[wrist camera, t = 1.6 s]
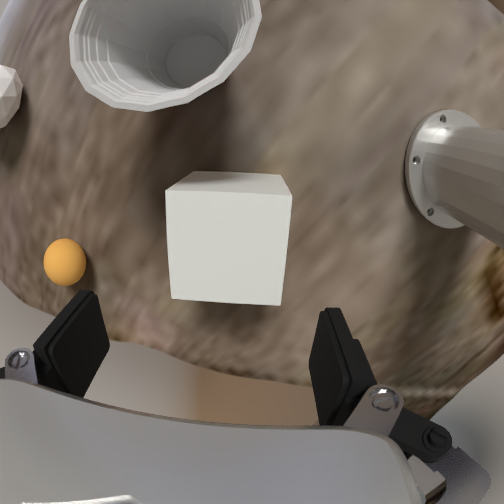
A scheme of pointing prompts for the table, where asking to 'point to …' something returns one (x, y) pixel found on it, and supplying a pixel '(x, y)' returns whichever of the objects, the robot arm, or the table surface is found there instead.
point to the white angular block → (228, 237)
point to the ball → (64, 262)
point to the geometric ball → (9, 94)
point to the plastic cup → (159, 48)
